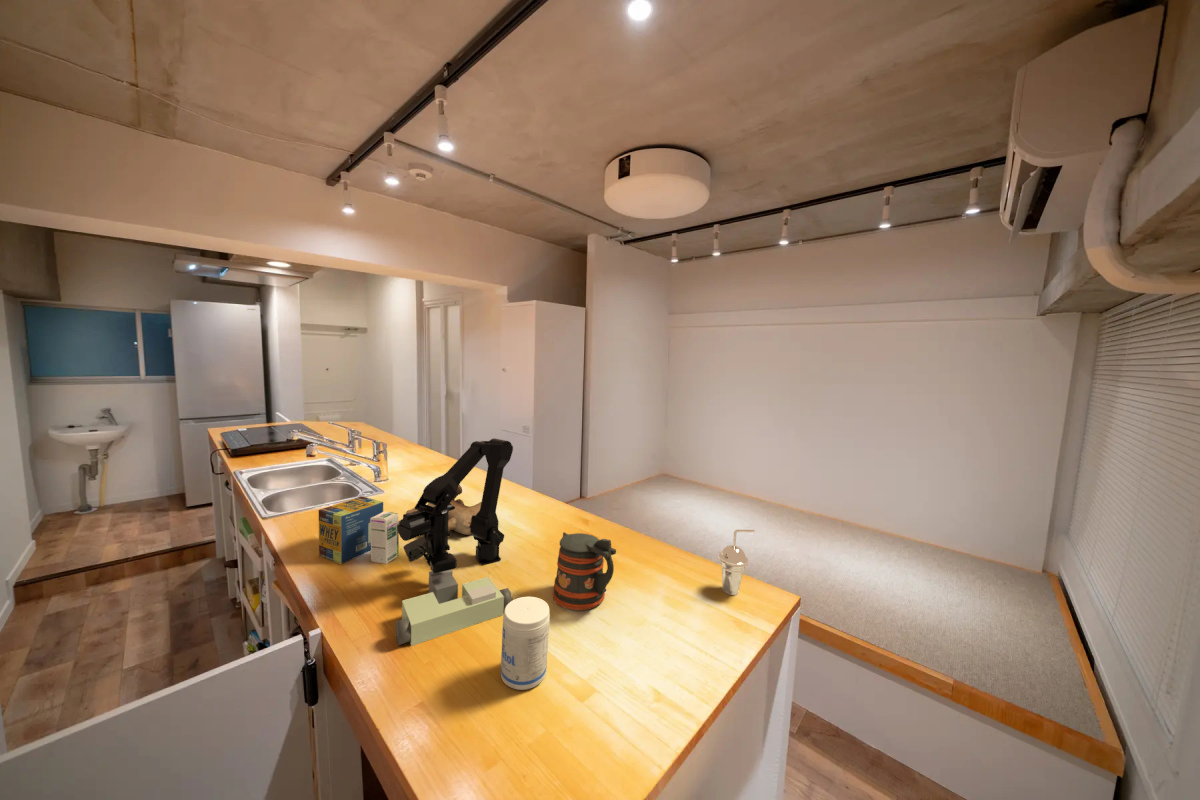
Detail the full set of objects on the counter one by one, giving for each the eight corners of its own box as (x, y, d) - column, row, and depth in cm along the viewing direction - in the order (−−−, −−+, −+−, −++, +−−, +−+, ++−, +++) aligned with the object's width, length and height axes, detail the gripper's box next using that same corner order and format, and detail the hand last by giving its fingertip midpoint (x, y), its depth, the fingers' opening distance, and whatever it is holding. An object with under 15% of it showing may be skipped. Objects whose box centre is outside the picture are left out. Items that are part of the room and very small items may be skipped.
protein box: (318, 557, 129) (317, 509, 127) (362, 538, 143) (362, 495, 142) (340, 564, 125) (340, 516, 124) (384, 544, 139) (384, 500, 138)
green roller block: (496, 591, 115) (496, 569, 115) (512, 611, 106) (512, 588, 106) (391, 622, 100) (391, 597, 99) (399, 649, 91) (399, 622, 90)
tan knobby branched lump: (454, 476, 172) (394, 497, 153) (501, 500, 154) (441, 527, 135) (455, 504, 176) (397, 528, 156) (501, 530, 158) (443, 561, 138)
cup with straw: (724, 580, 128) (729, 518, 126) (752, 592, 122) (758, 528, 120) (710, 589, 122) (715, 525, 120) (738, 603, 116) (744, 535, 114)
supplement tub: (491, 674, 85) (493, 608, 84) (526, 651, 93) (529, 590, 91) (520, 701, 79) (523, 630, 78) (556, 674, 86) (559, 608, 85)
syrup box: (386, 564, 127) (386, 519, 125) (370, 561, 128) (370, 517, 126) (399, 556, 132) (399, 512, 131) (383, 553, 133) (383, 510, 132)
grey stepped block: (448, 587, 116) (449, 566, 115) (457, 601, 110) (458, 579, 109) (428, 593, 113) (428, 571, 112) (436, 608, 106) (436, 585, 106)
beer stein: (627, 601, 114) (632, 532, 112) (595, 626, 102) (600, 550, 100) (576, 576, 125) (579, 514, 123) (542, 597, 114) (545, 528, 112)
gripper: (400, 521, 118) (399, 572, 119) (413, 547, 103) (412, 606, 104) (440, 514, 124) (439, 563, 126) (458, 538, 109) (456, 593, 111)
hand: (436, 580), depth 116 cm, fingers closed
